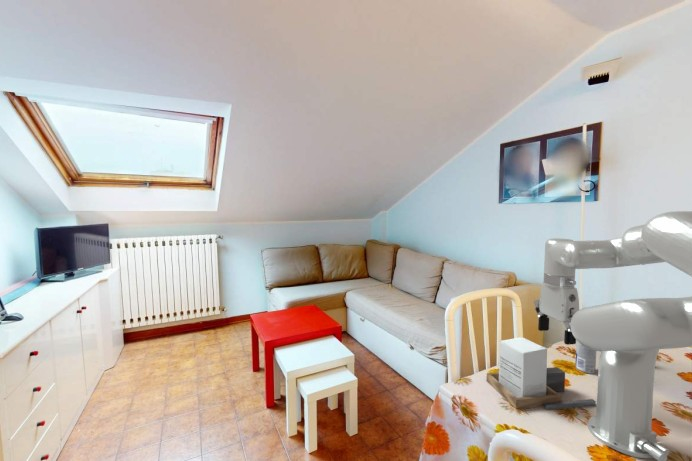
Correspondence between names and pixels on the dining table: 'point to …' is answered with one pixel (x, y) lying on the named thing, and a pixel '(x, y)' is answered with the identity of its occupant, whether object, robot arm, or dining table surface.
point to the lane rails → (569, 404)
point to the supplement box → (523, 367)
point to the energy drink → (585, 359)
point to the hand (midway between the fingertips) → (556, 336)
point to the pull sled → (553, 385)
